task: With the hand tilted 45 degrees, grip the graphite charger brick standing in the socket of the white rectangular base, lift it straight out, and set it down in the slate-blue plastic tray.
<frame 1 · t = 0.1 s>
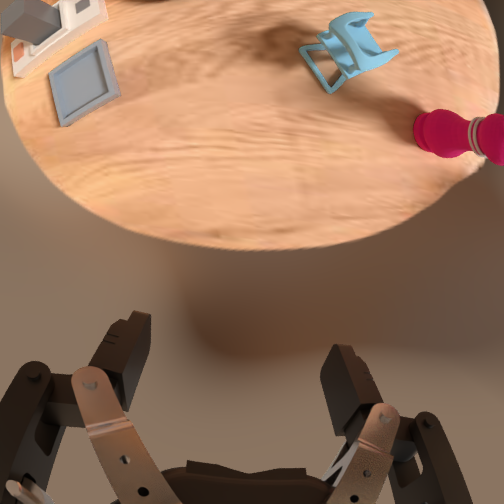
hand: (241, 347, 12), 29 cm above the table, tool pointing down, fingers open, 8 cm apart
pepper mill: (427, 132, 35), on the table
white rectangular base: (59, 31, 26), on the table
charger: (49, 27, 24), point 3 cm above the table, touching white rectangular base
tray: (85, 83, 31), on the table
chair: (336, 61, 32), on the table
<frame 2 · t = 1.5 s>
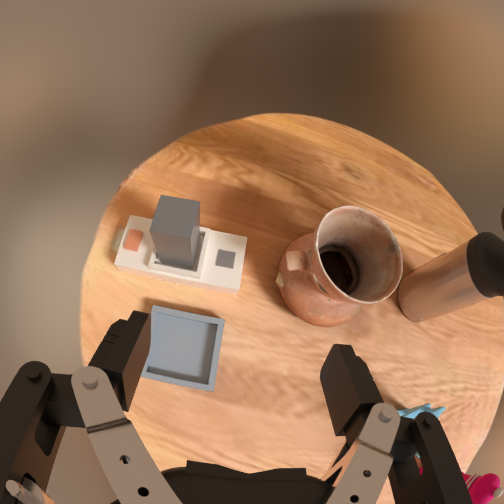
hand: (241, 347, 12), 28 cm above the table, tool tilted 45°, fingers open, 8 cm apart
pepper mill: (425, 475, 33), on the table
white rectangular base: (181, 257, 42), on the table
charger: (180, 250, 39), point 3 cm above the table, touching white rectangular base
ceramic jug: (321, 284, 45), on the table
tray: (182, 349, 37), on the table
chair: (390, 424, 37), on the table
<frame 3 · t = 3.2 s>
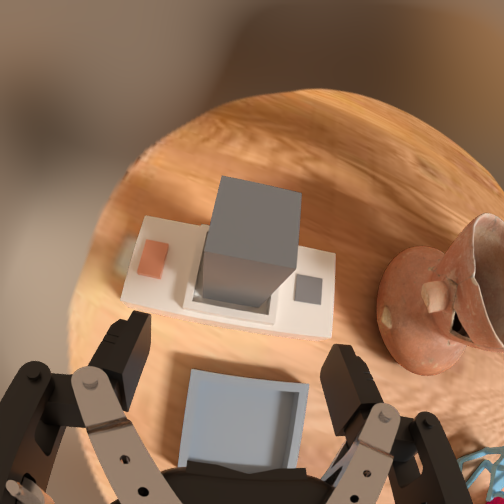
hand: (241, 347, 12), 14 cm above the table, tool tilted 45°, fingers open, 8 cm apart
white rectangular base: (231, 285, 27), on the table
charger: (234, 276, 24), point 3 cm above the table, touching white rectangular base
ceramic jug: (416, 315, 29), on the table
tray: (240, 429, 22), on the table
chair: (470, 467, 22), on the table
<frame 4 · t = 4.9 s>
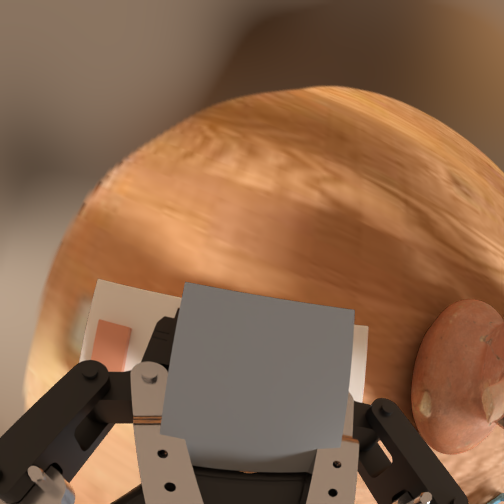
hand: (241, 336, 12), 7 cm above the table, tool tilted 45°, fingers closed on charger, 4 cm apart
white rectangular base: (223, 372, 18), on the table
charger: (227, 373, 15), point 3 cm above the table, touching gripper, white rectangular base
ceramic jug: (451, 377, 21), on the table
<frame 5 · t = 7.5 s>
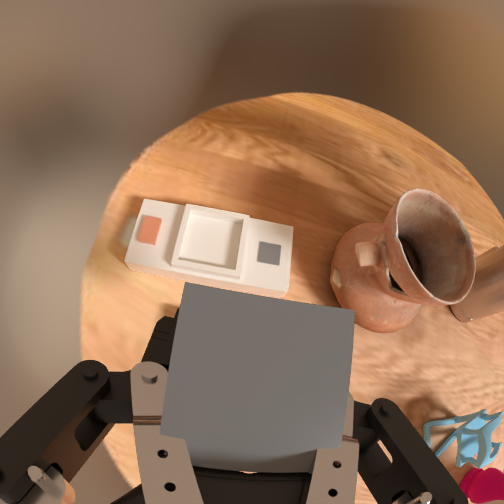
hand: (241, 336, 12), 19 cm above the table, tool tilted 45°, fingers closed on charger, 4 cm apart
pepper mill: (467, 482, 25), on the table
white rectangular base: (210, 252, 34), on the table
charger: (227, 373, 15), point 15 cm above the table, touching gripper
ceramic jug: (373, 282, 37), on the table
chair: (440, 434, 29), on the table
when the fingers open (6 cm above the table, at t = 10.3 s): charger drops 1 cm, resting on tray.
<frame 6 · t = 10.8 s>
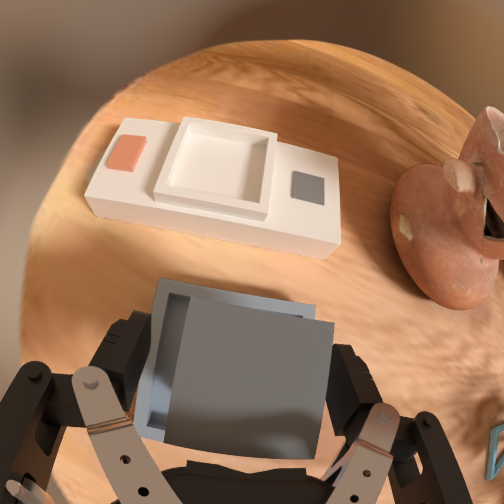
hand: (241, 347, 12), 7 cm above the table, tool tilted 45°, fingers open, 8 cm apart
white rectangular base: (216, 192, 22), on the table
charger: (225, 373, 17), point 1 cm above the table, touching tray
ceramic jug: (435, 246, 25), on the table
tray: (224, 372, 17), on the table
chair: (503, 440, 17), on the table
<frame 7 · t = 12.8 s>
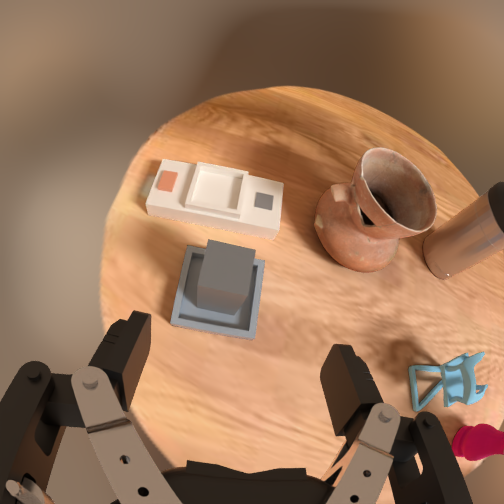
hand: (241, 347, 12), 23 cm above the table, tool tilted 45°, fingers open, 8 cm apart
pepper mill: (460, 441, 32), on the table
white rectangular base: (215, 203, 41), on the table
charger: (219, 294, 35), point 1 cm above the table, touching tray
ceramic jug: (353, 235, 44), on the table
tray: (218, 294, 36), on the table
chair: (427, 382, 36), on the table
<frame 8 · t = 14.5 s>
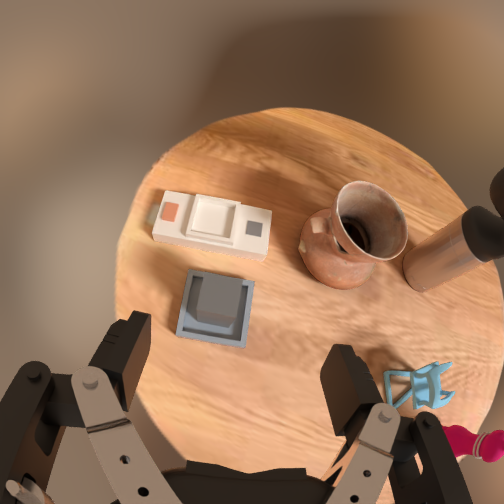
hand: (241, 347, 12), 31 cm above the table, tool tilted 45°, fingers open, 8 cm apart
pepper mill: (436, 439, 39), on the table
white rectangular base: (212, 229, 47), on the table
charger: (215, 310, 42), point 1 cm above the table, touching tray
ceramic jug: (335, 254, 50), on the table
tray: (215, 310, 42), on the table
chair: (402, 385, 42), on the table
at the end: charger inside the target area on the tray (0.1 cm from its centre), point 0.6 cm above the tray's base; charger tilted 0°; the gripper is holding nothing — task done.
